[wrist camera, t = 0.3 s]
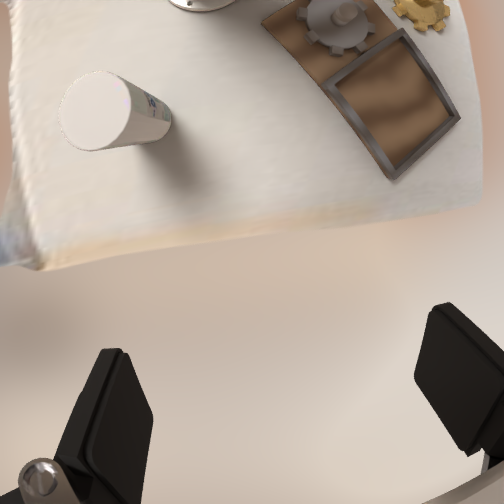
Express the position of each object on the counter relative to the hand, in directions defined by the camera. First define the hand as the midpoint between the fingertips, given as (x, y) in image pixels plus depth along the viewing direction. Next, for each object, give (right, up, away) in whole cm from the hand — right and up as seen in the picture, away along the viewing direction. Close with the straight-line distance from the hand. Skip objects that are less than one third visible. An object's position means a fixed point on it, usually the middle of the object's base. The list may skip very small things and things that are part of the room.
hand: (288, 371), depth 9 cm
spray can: (-15, +21, +30) cm, 40 cm away
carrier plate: (+16, +30, +30) cm, 45 cm away
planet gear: (+26, +45, +25) cm, 57 cm away
